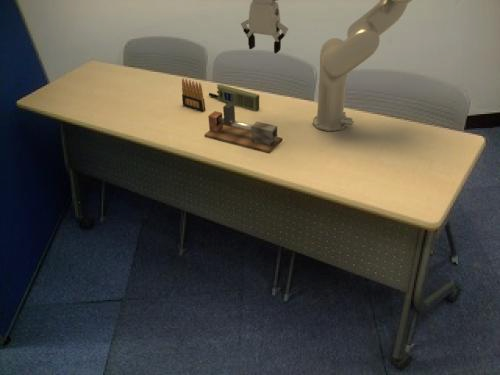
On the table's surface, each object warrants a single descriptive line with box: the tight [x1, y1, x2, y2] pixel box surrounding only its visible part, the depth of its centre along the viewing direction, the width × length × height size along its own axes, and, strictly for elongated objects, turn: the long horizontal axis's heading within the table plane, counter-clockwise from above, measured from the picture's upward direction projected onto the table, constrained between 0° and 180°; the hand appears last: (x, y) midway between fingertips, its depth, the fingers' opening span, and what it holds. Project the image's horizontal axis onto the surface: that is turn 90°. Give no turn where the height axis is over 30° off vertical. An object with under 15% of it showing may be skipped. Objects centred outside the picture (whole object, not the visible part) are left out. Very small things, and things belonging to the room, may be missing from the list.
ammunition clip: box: [181, 77, 206, 113], centre depth 190 cm, size 11×2×12 cm, turn 54°
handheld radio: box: [208, 84, 260, 112], centre depth 195 cm, size 7×3×25 cm
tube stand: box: [204, 110, 283, 154], centre depth 170 cm, size 26×10×7 cm, turn 61°
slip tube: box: [217, 103, 253, 132], centre depth 168 cm, size 20×4×8 cm, turn 61°
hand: (264, 50), depth 165 cm, fingers open, 9 cm apart
